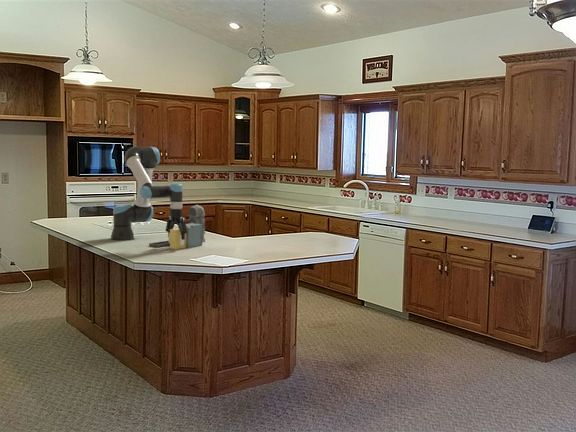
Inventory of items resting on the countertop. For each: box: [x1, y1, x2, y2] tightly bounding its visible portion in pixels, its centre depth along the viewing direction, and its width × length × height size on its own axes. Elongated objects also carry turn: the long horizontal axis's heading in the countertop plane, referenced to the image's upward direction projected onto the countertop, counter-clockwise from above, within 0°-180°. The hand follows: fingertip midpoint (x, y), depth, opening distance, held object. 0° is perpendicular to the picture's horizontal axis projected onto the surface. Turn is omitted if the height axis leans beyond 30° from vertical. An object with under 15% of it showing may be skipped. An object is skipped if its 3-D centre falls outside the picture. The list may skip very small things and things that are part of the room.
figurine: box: [187, 204, 206, 243], centre depth 408 cm, size 10×14×25 cm
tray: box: [148, 240, 170, 249], centre depth 389 cm, size 9×18×2 cm, turn 143°
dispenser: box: [177, 223, 203, 249], centre depth 389 cm, size 9×12×14 cm
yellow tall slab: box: [169, 227, 187, 250], centre depth 382 cm, size 5×14×12 cm, turn 143°
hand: (176, 243), depth 379 cm, fingers open, 10 cm apart
